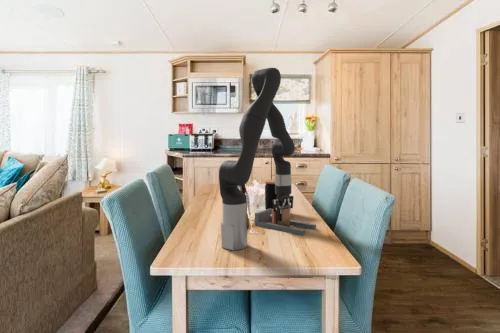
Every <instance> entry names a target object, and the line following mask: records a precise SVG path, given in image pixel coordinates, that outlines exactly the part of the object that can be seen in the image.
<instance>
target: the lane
mask: <svg viewBox="0 0 500 333" xmlns="http://www.w3.org/2000/svg"><path fill="white" fill-rule="evenodd" d="M271 214H272V209H271V208H269V209H266V210H265V209H264V210H260V211H258V212H257V211H256V212H254V226H256V227H260V228H265V229H271V230H275V231H279V232H280V231H281V232H284V233H289V234H294V235H299V236H304V235H306V229H307V230H312V231H315V230H317V224H315V223H309V222H305V221H298V220H293V219H290V227H288V226H283V225H278V224H273V223H272V217H271ZM302 228H303V229H302Z"/></svg>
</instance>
